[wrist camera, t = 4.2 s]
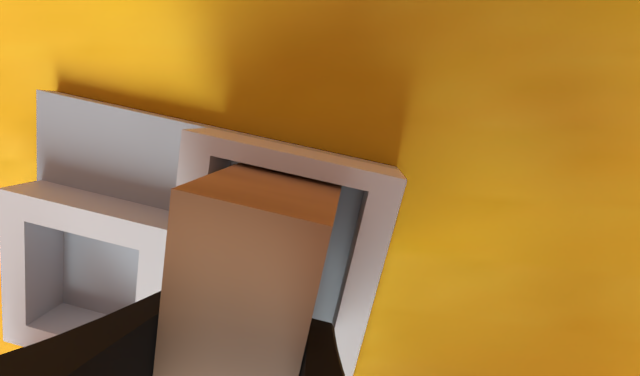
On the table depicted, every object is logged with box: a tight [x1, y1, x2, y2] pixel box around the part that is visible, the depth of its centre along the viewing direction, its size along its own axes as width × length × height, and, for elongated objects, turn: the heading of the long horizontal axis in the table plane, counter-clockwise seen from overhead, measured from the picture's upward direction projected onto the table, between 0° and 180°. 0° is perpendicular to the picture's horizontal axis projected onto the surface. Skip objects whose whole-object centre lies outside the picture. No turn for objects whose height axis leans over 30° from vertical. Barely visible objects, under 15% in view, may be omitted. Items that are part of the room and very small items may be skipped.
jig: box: [0, 90, 407, 376], centre depth 12 cm, size 10×14×3 cm
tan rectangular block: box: [153, 162, 342, 376], centre depth 10 cm, size 8×3×5 cm, turn 168°
